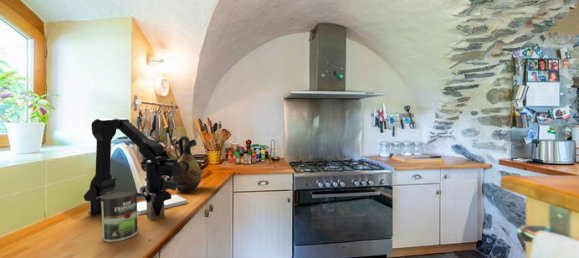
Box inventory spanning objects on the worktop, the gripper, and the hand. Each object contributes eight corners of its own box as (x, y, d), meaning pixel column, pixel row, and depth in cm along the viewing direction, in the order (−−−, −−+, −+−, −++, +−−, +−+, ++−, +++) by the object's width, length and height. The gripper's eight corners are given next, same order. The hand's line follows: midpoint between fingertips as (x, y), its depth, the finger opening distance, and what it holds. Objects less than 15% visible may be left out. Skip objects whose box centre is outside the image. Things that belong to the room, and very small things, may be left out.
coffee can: (144, 232, 90) (142, 192, 90) (111, 245, 82) (109, 200, 81) (128, 226, 96) (127, 188, 95) (96, 237, 87) (94, 195, 86)
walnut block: (151, 220, 101) (150, 205, 101) (147, 216, 105) (146, 202, 105) (164, 216, 105) (164, 202, 105) (160, 213, 108) (159, 199, 108)
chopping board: (139, 214, 107) (139, 211, 107) (130, 207, 117) (130, 204, 117) (186, 203, 122) (186, 200, 121) (175, 197, 131) (175, 194, 131)
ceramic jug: (208, 189, 146) (206, 135, 144) (184, 196, 132) (182, 137, 131) (188, 185, 154) (186, 135, 153) (164, 191, 141) (162, 136, 140)
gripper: (184, 175, 103) (185, 214, 104) (166, 169, 117) (167, 203, 117) (153, 180, 95) (155, 222, 96) (138, 173, 109) (140, 210, 109)
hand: (155, 213), depth 105 cm, fingers closed on walnut block, 5 cm apart
